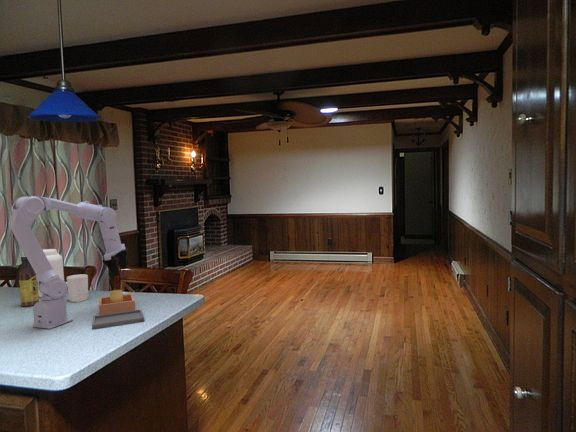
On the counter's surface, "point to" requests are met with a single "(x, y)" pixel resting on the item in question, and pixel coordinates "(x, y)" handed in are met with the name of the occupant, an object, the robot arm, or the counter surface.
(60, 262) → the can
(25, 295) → the sauce bottle
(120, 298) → the cylinder
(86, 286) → the white cup
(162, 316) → the counter surface
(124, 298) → the orange open box
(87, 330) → the counter surface
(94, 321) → the tray
